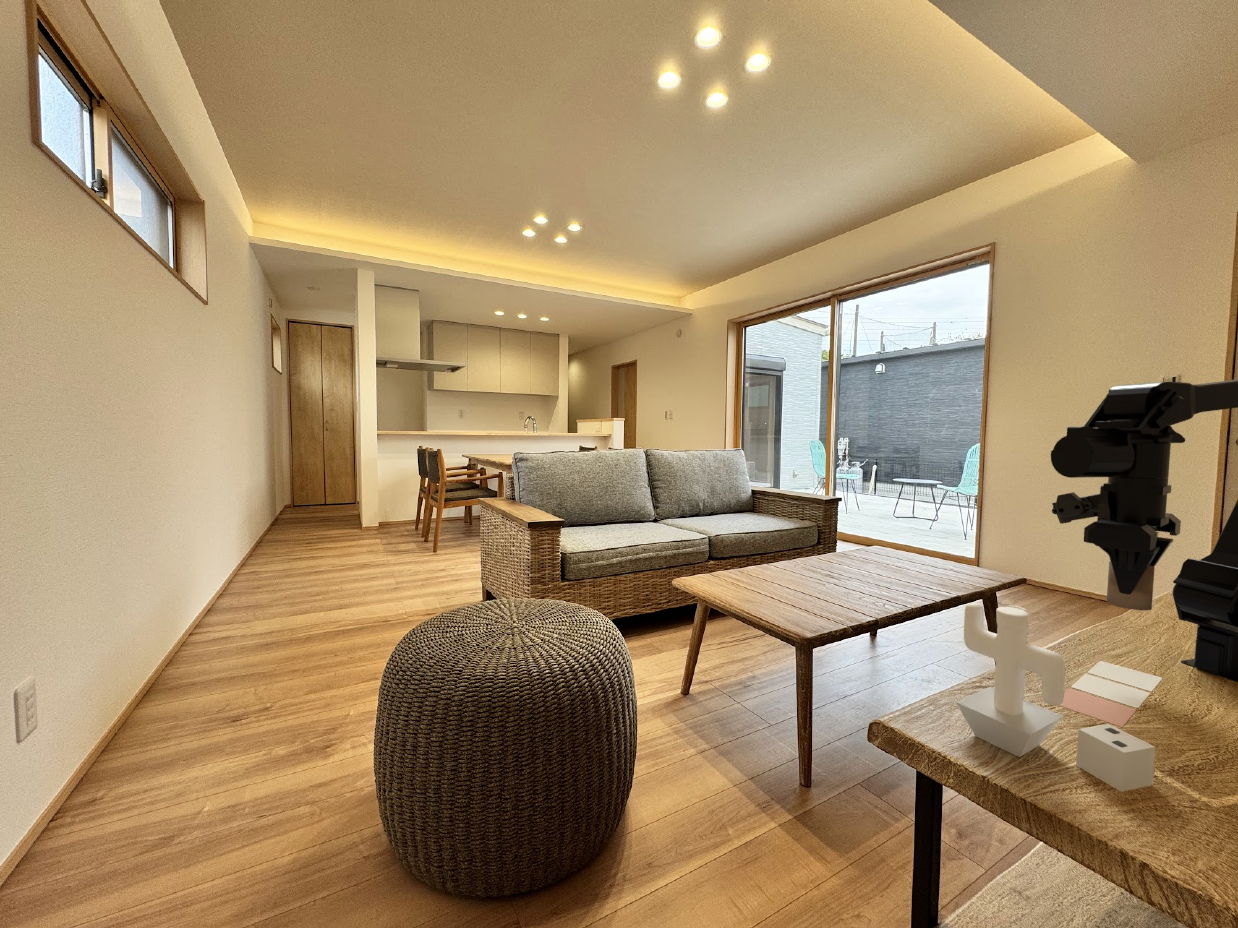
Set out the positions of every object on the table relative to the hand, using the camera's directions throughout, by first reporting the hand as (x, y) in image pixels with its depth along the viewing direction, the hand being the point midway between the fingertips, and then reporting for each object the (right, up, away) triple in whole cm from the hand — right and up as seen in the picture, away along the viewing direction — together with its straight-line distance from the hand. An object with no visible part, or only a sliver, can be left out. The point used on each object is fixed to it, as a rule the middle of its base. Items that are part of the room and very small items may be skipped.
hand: (1129, 590), depth 71 cm
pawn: (0, -2, 0) cm, 2 cm away
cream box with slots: (-20, -14, -19) cm, 31 cm away
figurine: (-27, -14, -13) cm, 33 cm away
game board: (-6, -13, -3) cm, 14 cm away
